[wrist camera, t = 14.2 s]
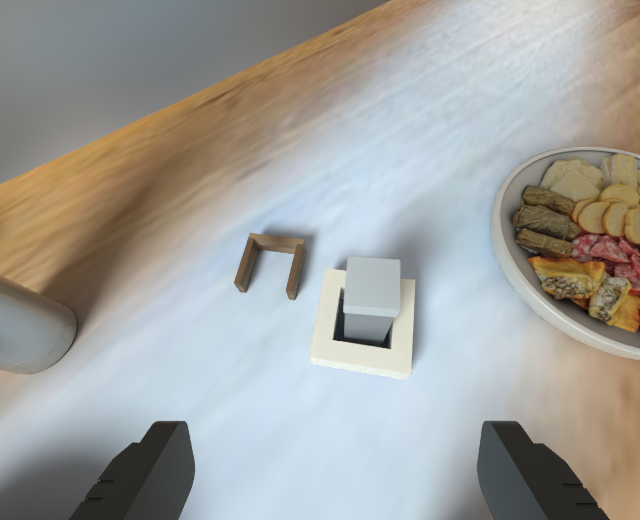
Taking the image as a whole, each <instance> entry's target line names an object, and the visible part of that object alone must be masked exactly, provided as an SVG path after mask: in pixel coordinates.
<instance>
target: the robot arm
mask: <svg viewBox="0 0 640 520" xmlns="http://www.w3.org/2000/svg"><path fill="white" fill-rule="evenodd" d="M76 329H77V321H76V318H75V315H74V313H73V312H72V311H71V310H70V309H69V308H68V307H66V306H64V305H62V304H60V303H57V302H55V301H53V300H51V299H49V298H47V297H45V296H43V295H41V294H39V293H37V292H34V291H32V290H30V289H28V288H26V287H24V286H22V285H19V284H17V283H15V282H13V281H11V280H9V279H7V278H5V277H2V276H0V370H3V371H8V372H14V373H19V374H33V373H37V372H40V371H42V370H45V369H47V368H48V367H50V366H51V365H53V364H55V363H56V362H57V361H58V360H59V359H60V358H61V357H62V356H63V355H64V354H65V353H66V352H67V350H68V349H69V347H70V346H71V344H72V342H73V340H74V337H75V334H76ZM477 472H478V479H479V483H480V487H481V490H482V493H483V495H484V497H485V500H486V502H487V504H488V506H489V508H490V511H491V513H492V515H493V517H494V520H610V519H609V518H608V517H607V515H606V514H605V513H604V511H603V510H602V509H601V508H599V507H598V505H597V502H596V501H595V500H594V498H593V497H592V496H591V494H590V493H589V492H588V490H587V489H586V488H583V484H582V483H581V481H580V480H579V479H578V477H577V476H576V475H575V473H574V472H573V471H572V469H571V468H570V467H569V466H568V464H567V463H566V462H565V461H564V460H563V459H562V458H560V457H559V456H558V455H557V454H555V453H554V452H553V451H552V450H550V449H549V448H548V447H547V446H546V445H544V444H533V442H532V441H531V439H530V438H529V436H528V435H527V434H526V432H525V431H524V429H523V428H522V427H521V425H520V424H519V423H518V422H516V421H485V422H484V423H483V425H482V432H481V440H480V447H479V455H478V463H477ZM194 475H195V461H194V456H193V451H192V446H191V440H190V435H189V430H188V426H187V423H186V422H185V421H157V422H155V423H154V424H153V425H152V426H151V427H150V429H149V430H148V432H147V433H146V435H145V436H144V437H143V439H142V440H141V442H140V443H131V444H130V445H129V446H128V447H127V448H126V449H124V450H123V451H122V452H121V453H120V454H119V455H117V456H116V457H115V458H114V459H113V460H112V461H111V462H110V464H109V465H108V467H107V468H106V469H105V471H104V472H103V473H102V475H101V476H100V478H99V479H98V482H97V484H94V486H93V487H92V489H91V490H90V491H89V493H88V494H87V495H86V497H85V500H84V502H81V504H80V505H79V506H78V508H77V509H76V511H75V512H74V513H73V515H72V516H71V517H70V519H69V520H178V519H179V516H180V514H181V512H182V509H183V507H184V505H185V502H186V500H187V498H188V495H189V493H190V491H191V488H192V485H193V481H194Z"/></svg>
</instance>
